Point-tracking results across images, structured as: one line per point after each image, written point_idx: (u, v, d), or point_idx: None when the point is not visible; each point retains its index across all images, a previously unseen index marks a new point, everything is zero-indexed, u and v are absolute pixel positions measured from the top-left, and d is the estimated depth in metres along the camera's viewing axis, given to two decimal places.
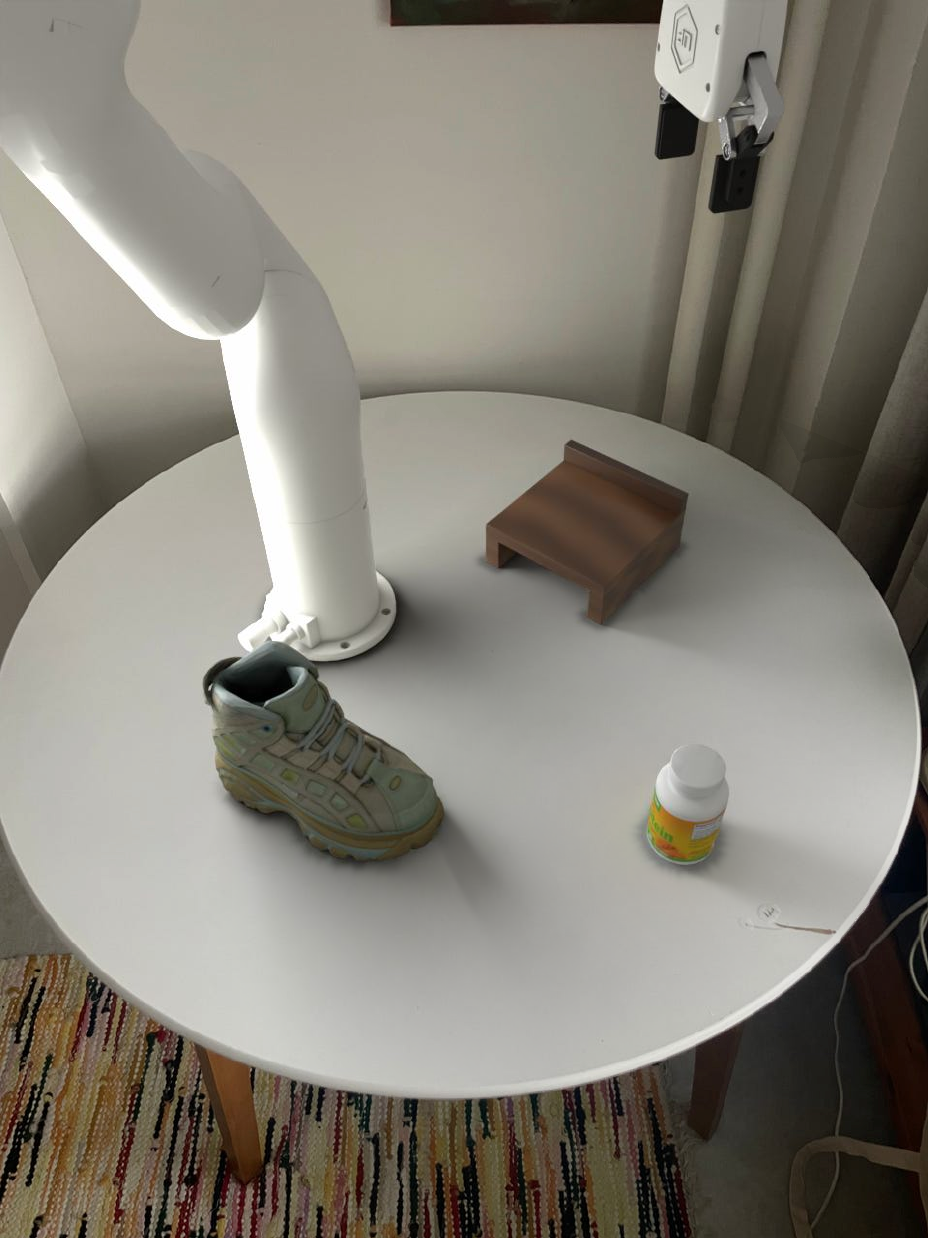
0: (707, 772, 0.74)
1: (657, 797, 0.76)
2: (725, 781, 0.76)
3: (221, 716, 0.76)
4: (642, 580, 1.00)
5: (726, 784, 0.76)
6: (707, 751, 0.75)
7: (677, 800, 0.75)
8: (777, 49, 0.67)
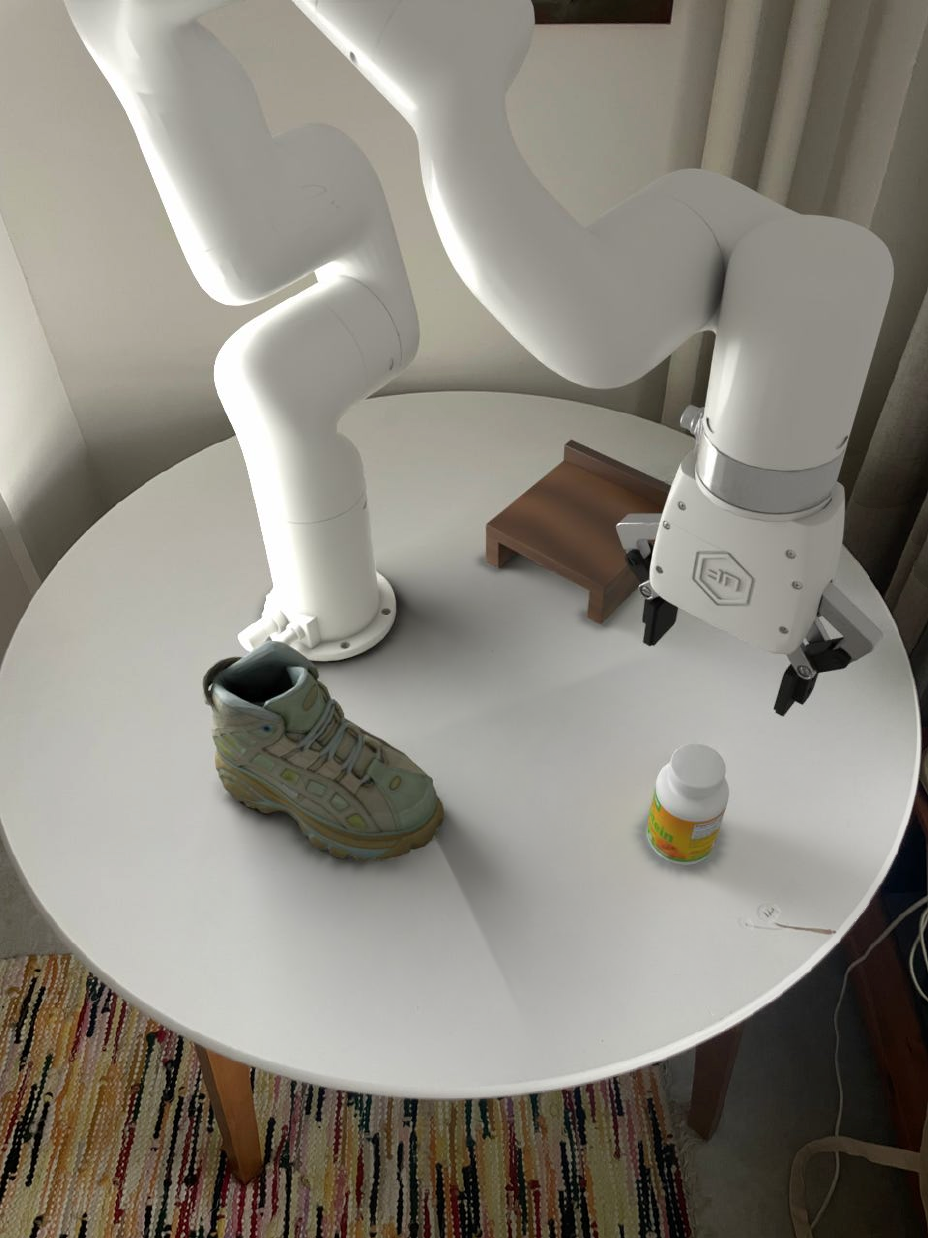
0: (707, 772, 0.74)
1: (657, 797, 0.76)
2: (725, 781, 0.76)
3: (221, 716, 0.76)
4: None
5: (726, 784, 0.76)
6: (707, 751, 0.75)
7: (677, 800, 0.75)
8: (837, 568, 0.59)
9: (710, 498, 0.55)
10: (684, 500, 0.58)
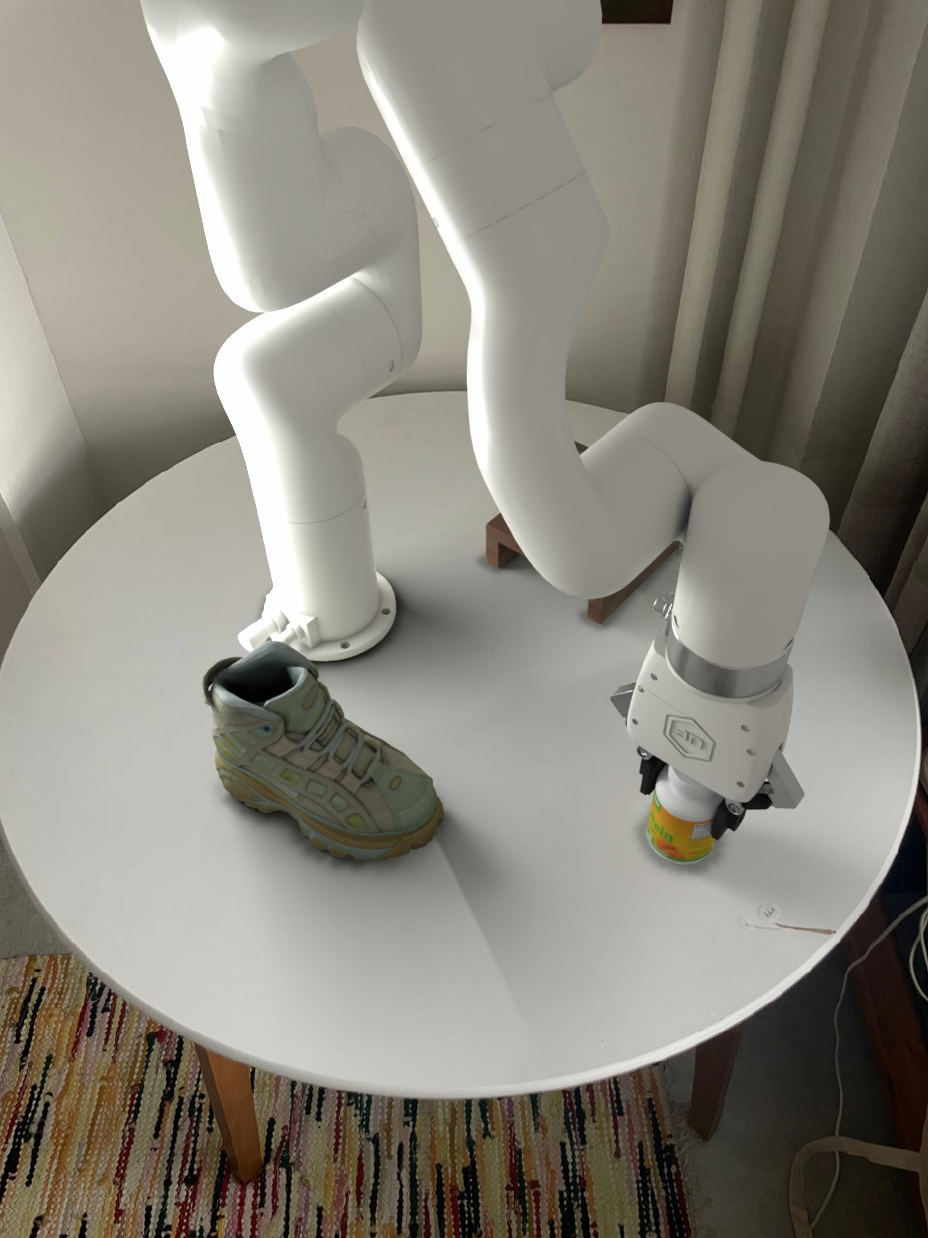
0: None
1: (657, 797, 0.76)
2: None
3: (221, 716, 0.76)
4: (642, 580, 1.00)
5: None
6: None
7: (677, 800, 0.75)
8: None
9: (677, 679, 0.64)
10: (656, 673, 0.67)
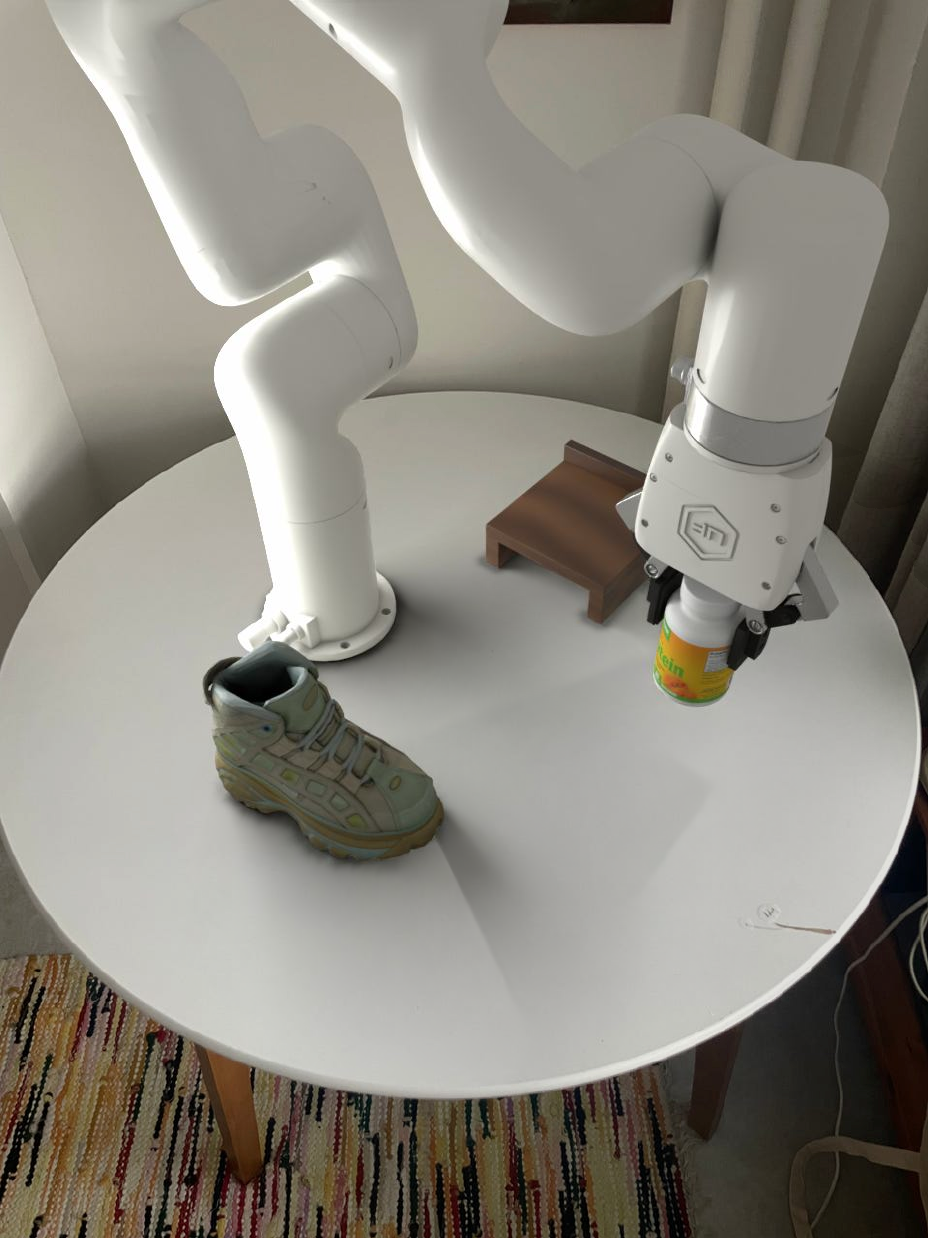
0: None
1: (666, 622, 0.67)
2: None
3: (221, 716, 0.76)
4: (642, 580, 1.00)
5: None
6: None
7: (690, 622, 0.65)
8: (822, 526, 0.59)
9: (697, 449, 0.55)
10: (671, 452, 0.58)
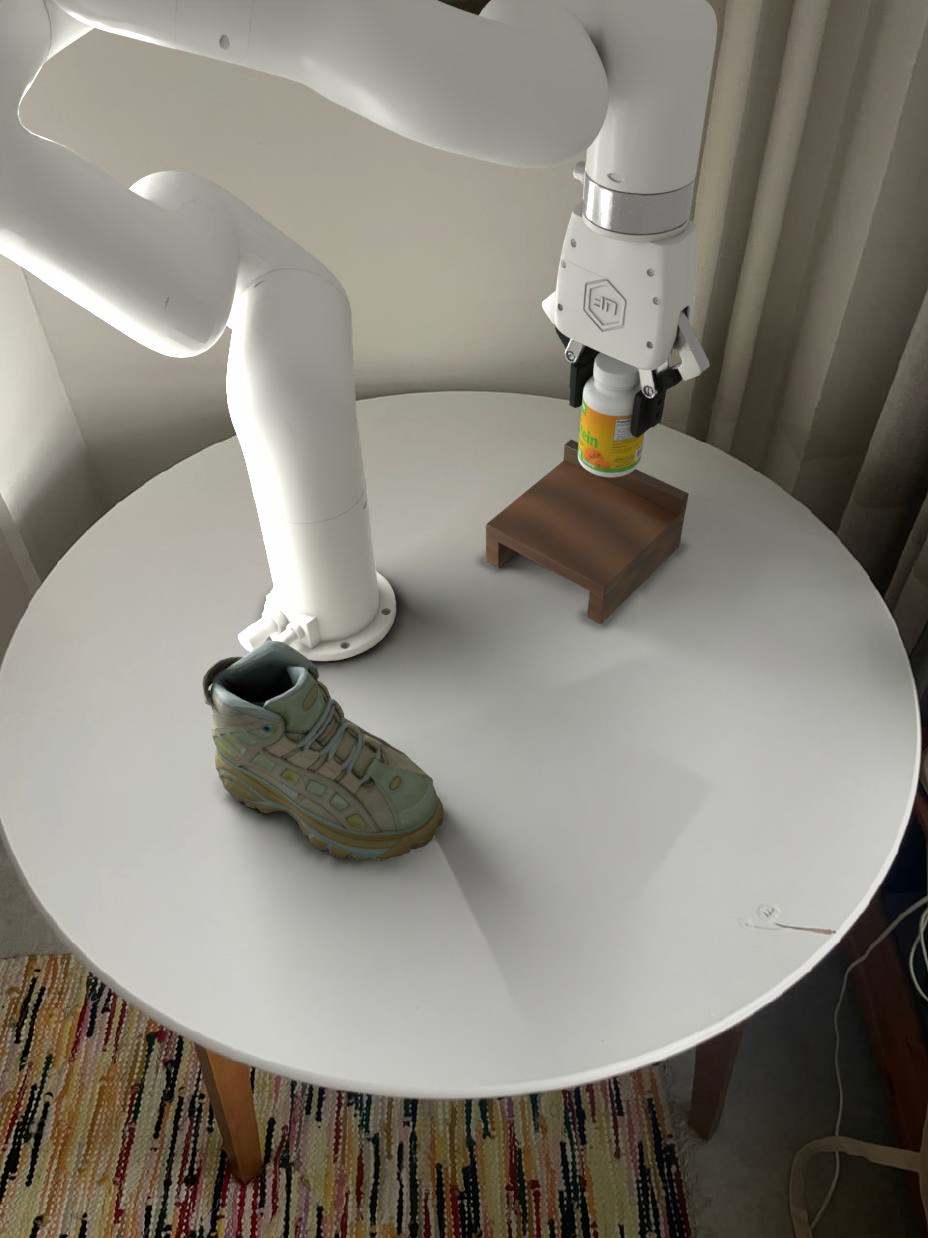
0: (628, 365, 0.81)
1: (583, 400, 0.83)
2: None
3: (221, 716, 0.76)
4: (642, 580, 1.00)
5: None
6: None
7: (600, 395, 0.82)
8: (694, 299, 0.75)
9: (590, 227, 0.71)
10: (575, 237, 0.74)
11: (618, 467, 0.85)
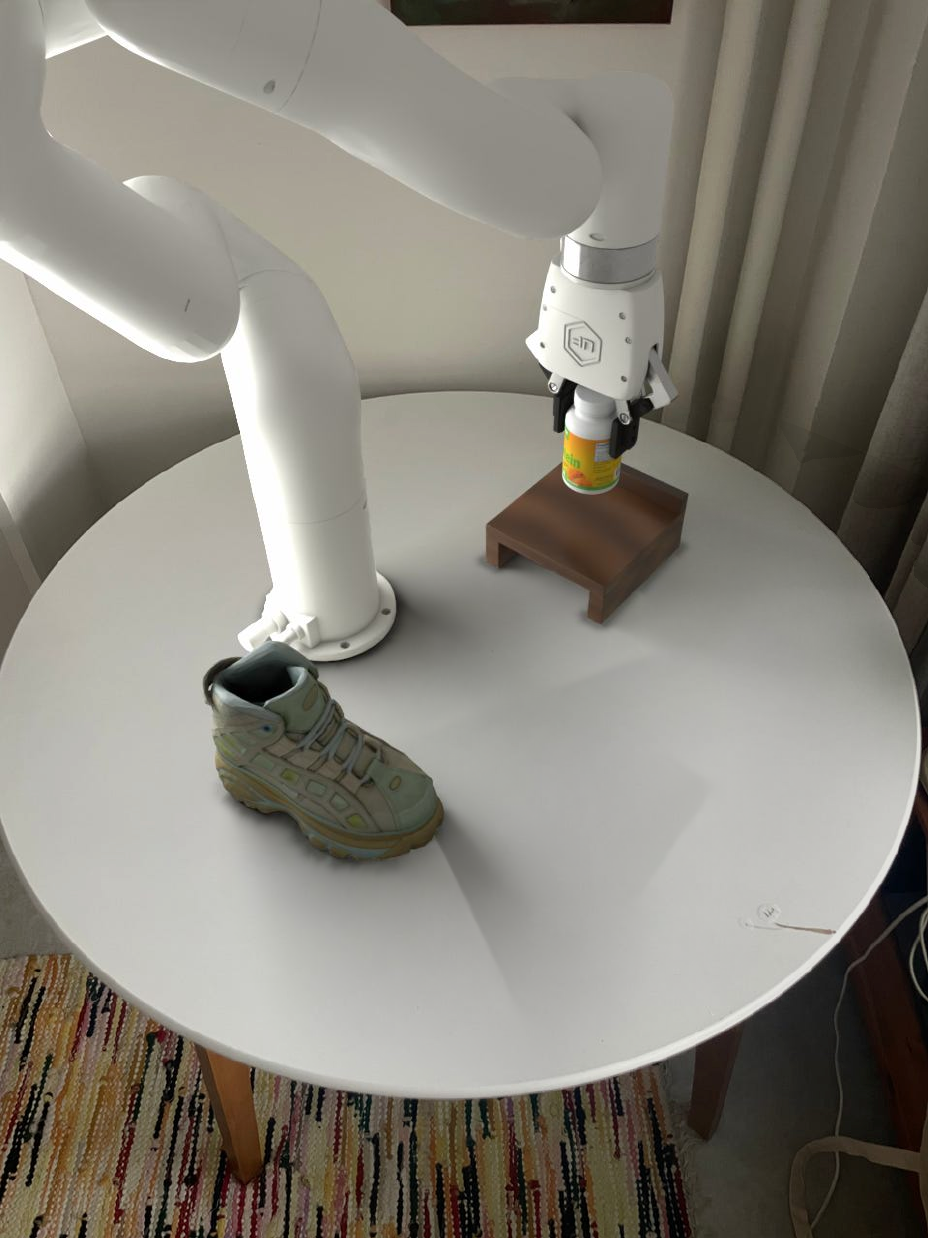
0: None
1: (566, 426, 0.92)
2: None
3: (221, 716, 0.76)
4: (642, 580, 1.00)
5: None
6: None
7: (581, 421, 0.90)
8: (662, 337, 0.84)
9: (568, 276, 0.80)
10: (554, 284, 0.83)
11: (599, 485, 0.94)
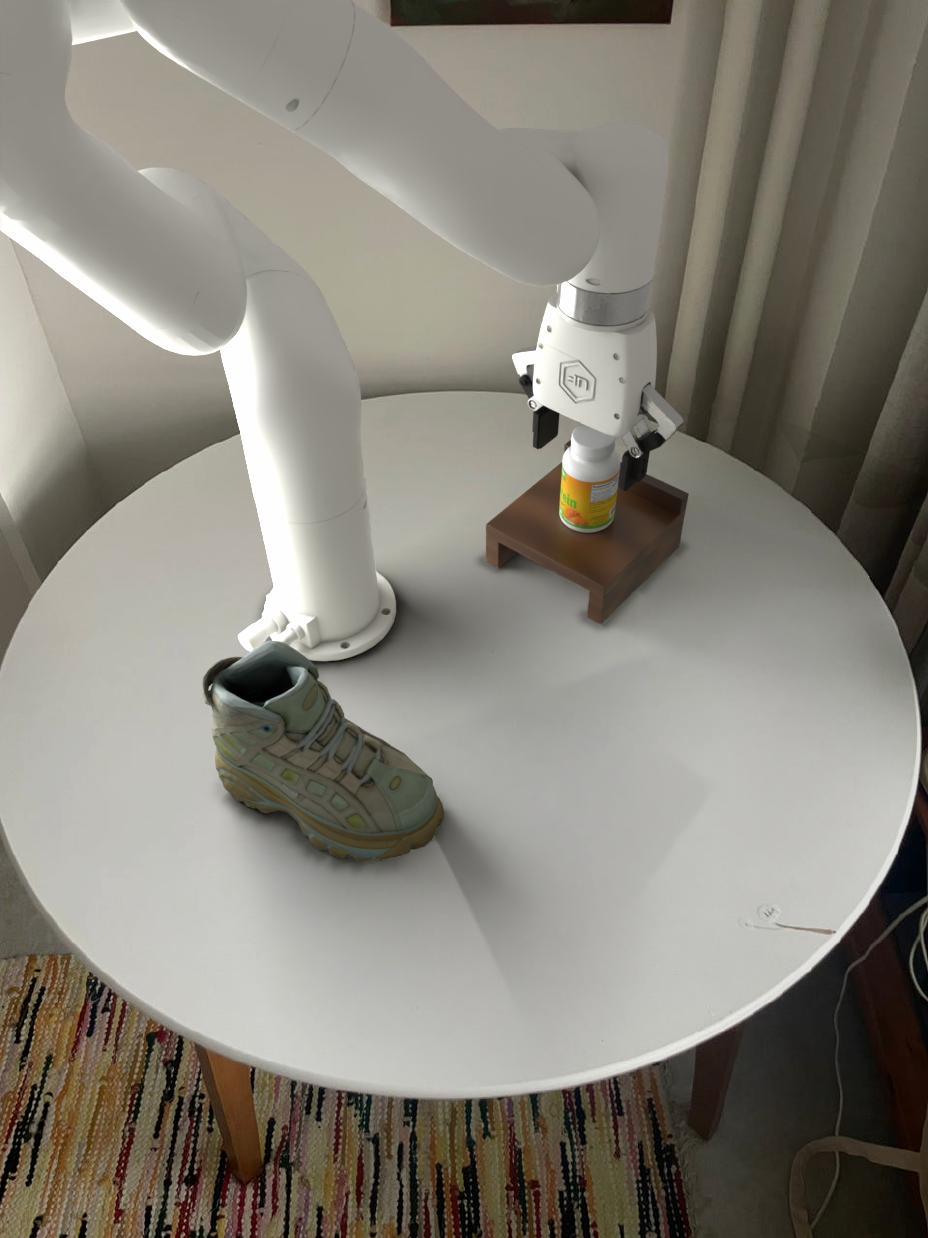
0: (600, 438, 0.93)
1: (563, 467, 0.95)
2: (617, 454, 0.95)
3: (221, 716, 0.76)
4: (642, 580, 1.00)
5: (618, 455, 0.95)
6: None
7: (577, 464, 0.94)
8: (655, 376, 0.86)
9: (564, 318, 0.83)
10: (550, 324, 0.85)
11: (595, 524, 0.98)
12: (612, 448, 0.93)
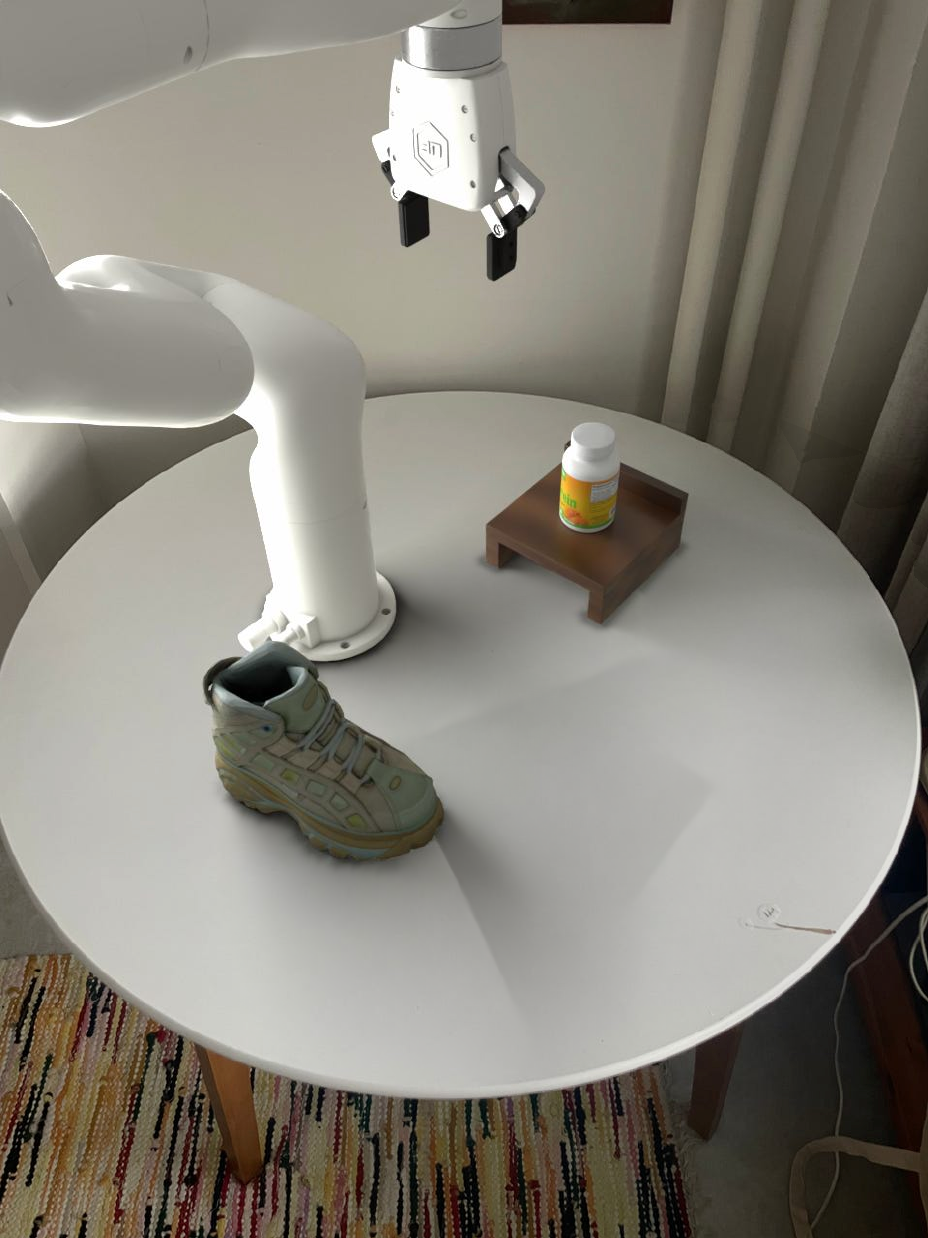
0: (600, 438, 0.93)
1: (563, 467, 0.95)
2: (617, 453, 0.95)
3: (221, 716, 0.76)
4: (642, 580, 1.00)
5: (618, 455, 0.95)
6: (601, 426, 0.94)
7: (577, 464, 0.94)
8: (514, 141, 0.80)
9: (407, 68, 0.76)
10: (398, 83, 0.79)
11: (595, 524, 0.98)
12: (612, 448, 0.93)
